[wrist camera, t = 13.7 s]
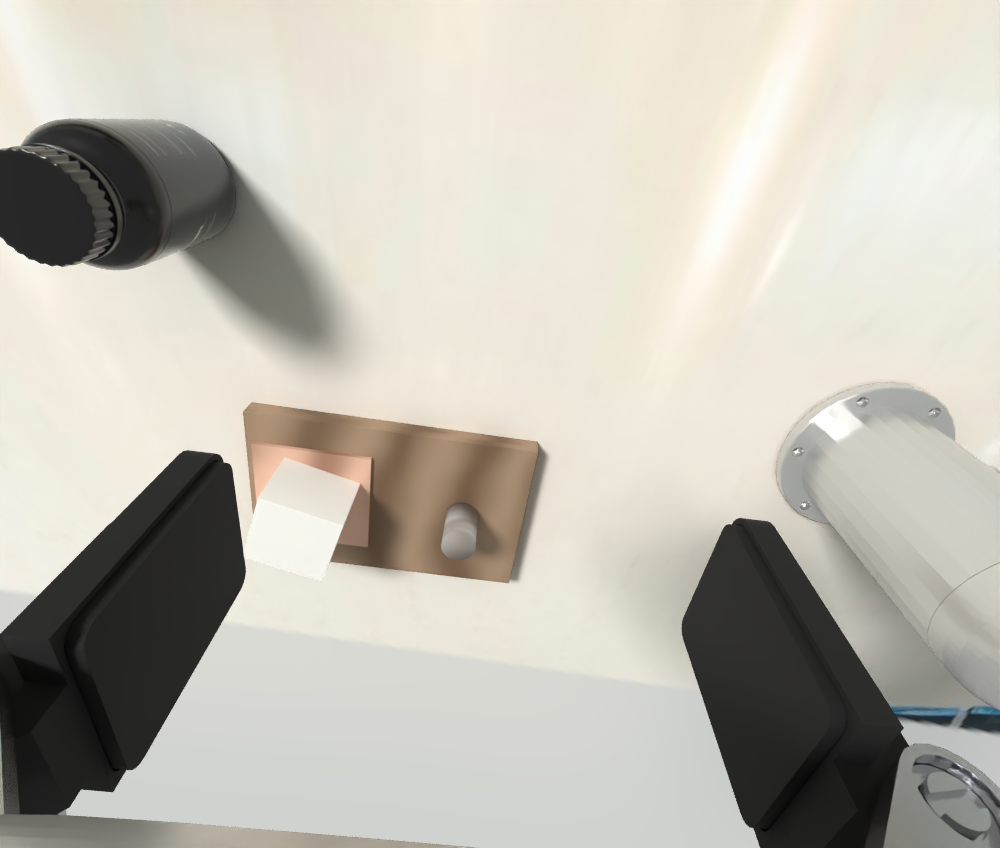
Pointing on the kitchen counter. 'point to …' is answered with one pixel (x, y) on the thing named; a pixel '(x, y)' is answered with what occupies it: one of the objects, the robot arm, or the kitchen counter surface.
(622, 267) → the kitchen counter surface
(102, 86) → the kitchen counter surface
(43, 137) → the supplement bottle
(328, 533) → the matte white cube
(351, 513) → the post board
